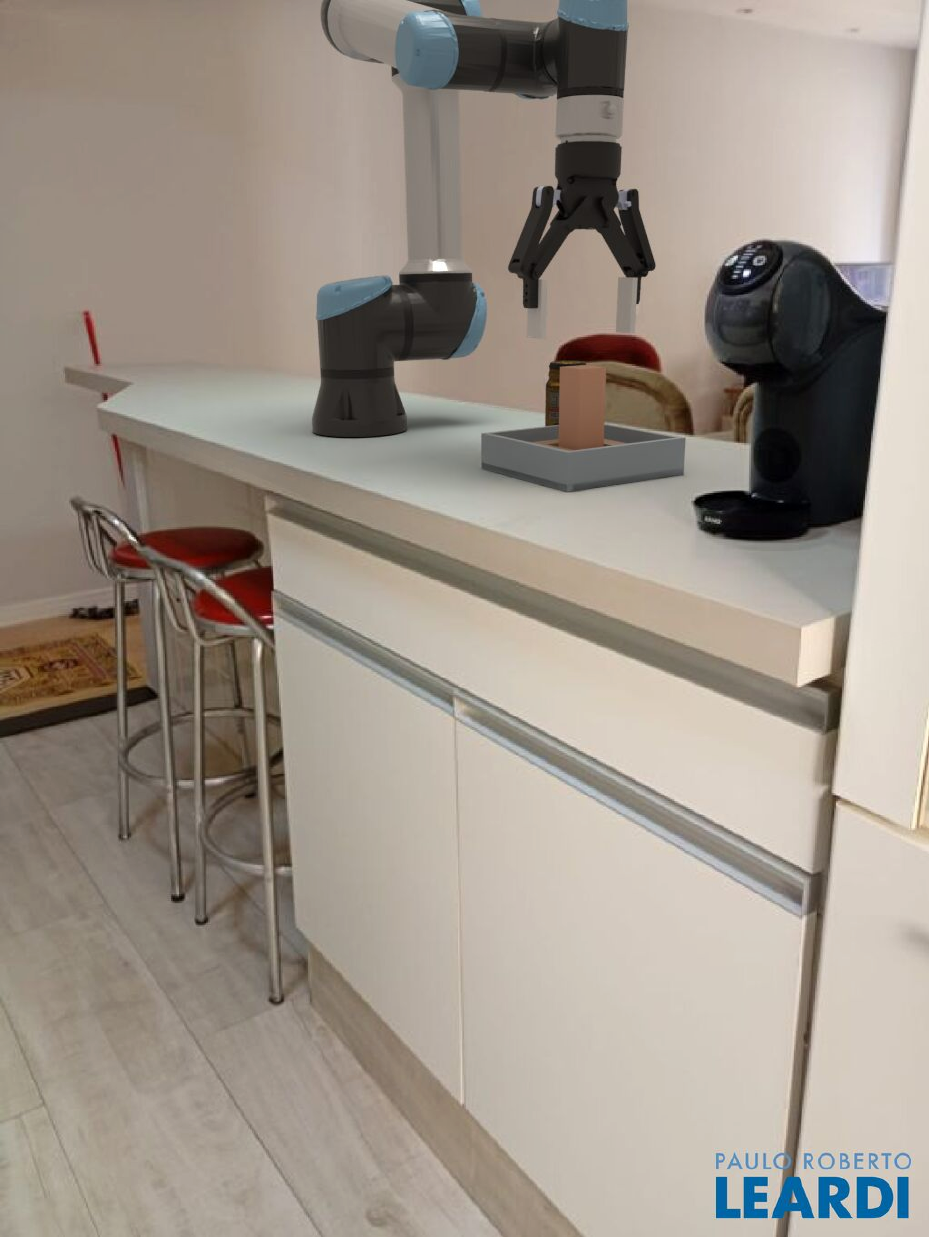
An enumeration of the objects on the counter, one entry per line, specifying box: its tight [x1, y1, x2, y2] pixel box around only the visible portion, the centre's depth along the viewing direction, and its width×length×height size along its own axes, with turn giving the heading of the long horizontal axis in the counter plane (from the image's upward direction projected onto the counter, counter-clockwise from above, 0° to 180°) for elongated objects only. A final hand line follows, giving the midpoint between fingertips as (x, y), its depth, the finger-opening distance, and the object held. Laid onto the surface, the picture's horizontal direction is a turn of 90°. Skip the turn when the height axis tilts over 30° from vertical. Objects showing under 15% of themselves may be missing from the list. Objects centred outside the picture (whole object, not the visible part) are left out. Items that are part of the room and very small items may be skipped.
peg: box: [558, 364, 607, 450], centre depth 124 cm, size 4×4×12 cm
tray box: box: [480, 423, 687, 493], centre depth 126 cm, size 18×18×4 cm
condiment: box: [544, 360, 587, 426], centre depth 142 cm, size 7×8×12 cm
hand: (581, 335), depth 122 cm, fingers open, 13 cm apart
